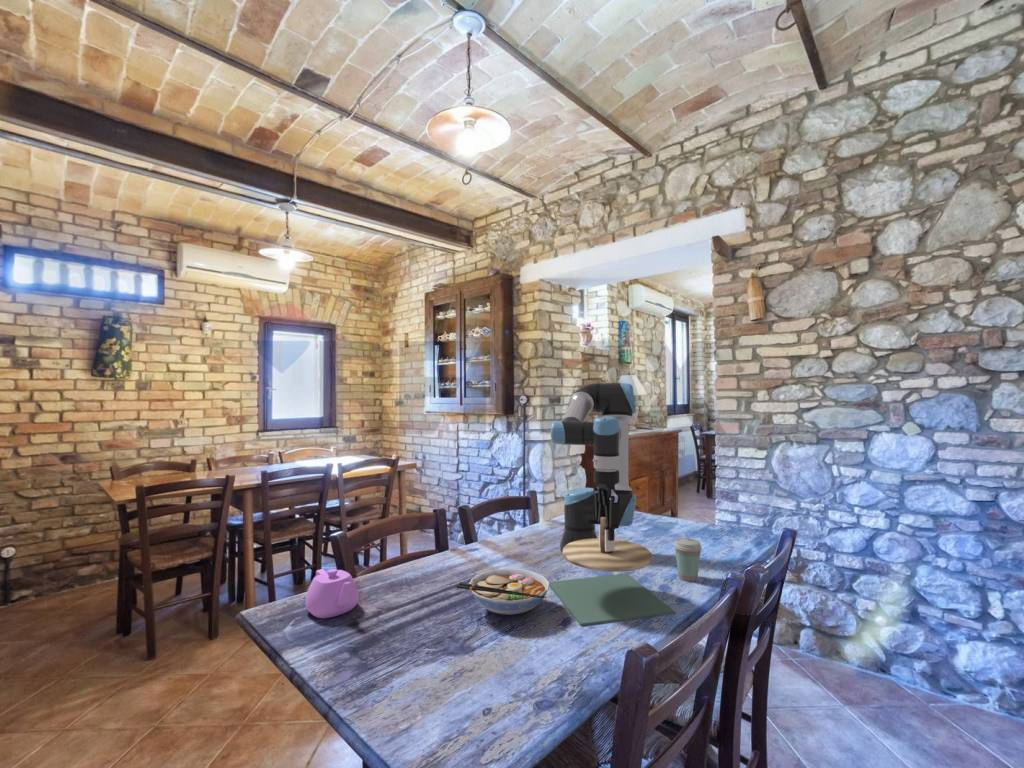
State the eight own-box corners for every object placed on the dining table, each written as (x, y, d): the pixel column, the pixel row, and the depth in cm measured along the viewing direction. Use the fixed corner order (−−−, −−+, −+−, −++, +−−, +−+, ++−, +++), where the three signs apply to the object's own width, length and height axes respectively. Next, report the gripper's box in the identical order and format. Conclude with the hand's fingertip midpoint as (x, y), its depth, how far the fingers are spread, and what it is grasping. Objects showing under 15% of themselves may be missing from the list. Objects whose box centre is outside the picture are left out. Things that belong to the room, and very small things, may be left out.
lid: (550, 545, 154) (550, 510, 154) (625, 538, 161) (625, 505, 161) (583, 575, 129) (583, 534, 129) (670, 566, 136) (670, 526, 136)
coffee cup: (704, 584, 154) (703, 546, 155) (675, 582, 156) (675, 544, 156) (699, 574, 163) (699, 538, 163) (672, 572, 165) (672, 536, 165)
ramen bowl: (561, 598, 144) (561, 571, 144) (541, 636, 123) (540, 603, 123) (483, 587, 153) (483, 561, 153) (451, 621, 131) (451, 590, 131)
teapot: (326, 631, 126) (326, 588, 126) (295, 606, 140) (294, 568, 140) (373, 613, 135) (372, 573, 135) (339, 592, 149) (339, 556, 149)
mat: (547, 583, 155) (547, 582, 155) (627, 575, 162) (627, 573, 162) (580, 625, 128) (580, 623, 128) (675, 613, 135) (675, 611, 135)
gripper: (583, 465, 152) (583, 540, 152) (606, 474, 136) (607, 559, 136) (605, 464, 154) (606, 539, 154) (631, 473, 138) (631, 556, 138)
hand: (606, 548), depth 145 cm, fingers closed on lid, 4 cm apart
